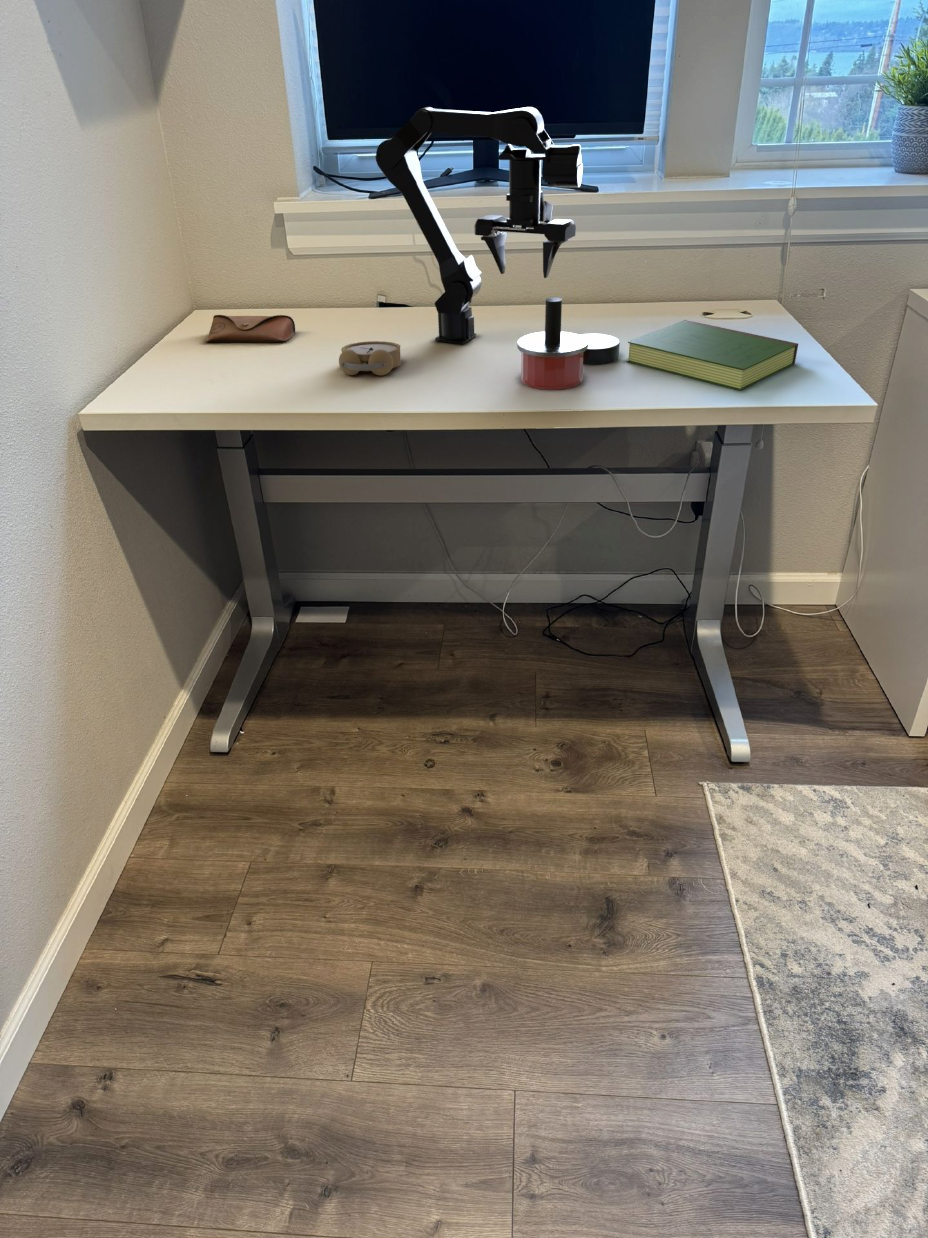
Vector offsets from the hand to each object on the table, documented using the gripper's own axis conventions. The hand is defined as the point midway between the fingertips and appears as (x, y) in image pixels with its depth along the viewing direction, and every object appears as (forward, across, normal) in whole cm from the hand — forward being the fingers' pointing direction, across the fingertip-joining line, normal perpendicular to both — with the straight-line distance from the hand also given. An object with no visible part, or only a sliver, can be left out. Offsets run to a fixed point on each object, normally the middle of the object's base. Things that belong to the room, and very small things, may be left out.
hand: (524, 275), depth 170 cm
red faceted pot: (+13, -14, +18) cm, 26 cm away
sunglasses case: (+13, +55, +19) cm, 60 cm away
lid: (+7, -14, +18) cm, 24 cm away
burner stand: (+13, -16, +3) cm, 21 cm away
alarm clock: (+13, +20, +26) cm, 35 cm away
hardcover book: (+13, -37, -2) cm, 39 cm away
